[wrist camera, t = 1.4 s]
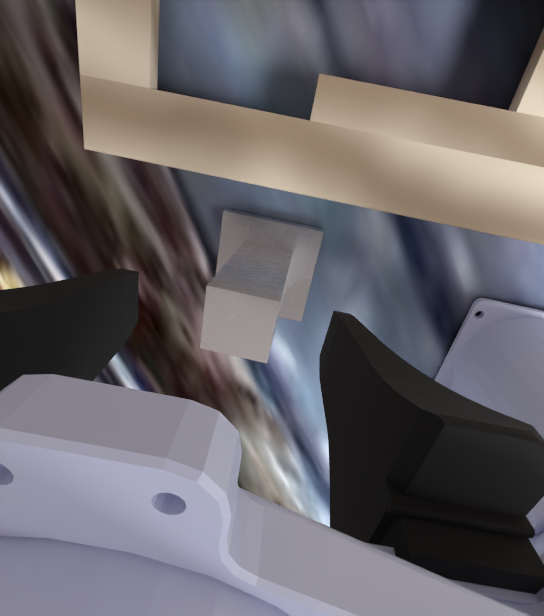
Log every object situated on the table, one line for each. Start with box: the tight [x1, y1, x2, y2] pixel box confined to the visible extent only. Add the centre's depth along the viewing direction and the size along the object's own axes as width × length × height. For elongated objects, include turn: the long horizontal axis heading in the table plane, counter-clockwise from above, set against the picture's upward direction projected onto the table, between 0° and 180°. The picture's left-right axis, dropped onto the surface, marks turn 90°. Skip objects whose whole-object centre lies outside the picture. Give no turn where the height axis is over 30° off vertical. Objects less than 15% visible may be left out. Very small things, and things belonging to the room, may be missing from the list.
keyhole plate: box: [75, 0, 544, 245], centre depth 15 cm, size 14×24×3 cm, turn 79°
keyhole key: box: [200, 208, 324, 363], centre depth 18 cm, size 6×6×8 cm
